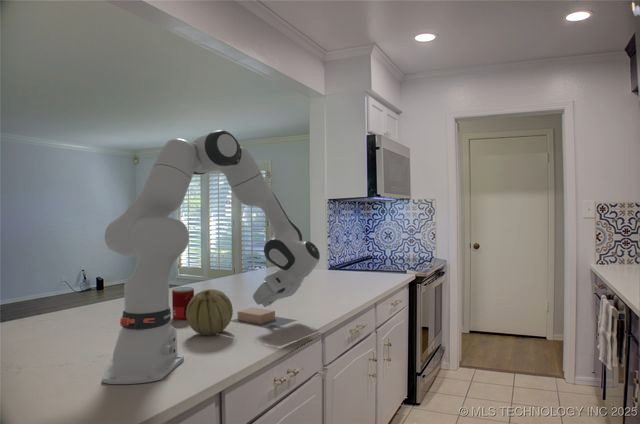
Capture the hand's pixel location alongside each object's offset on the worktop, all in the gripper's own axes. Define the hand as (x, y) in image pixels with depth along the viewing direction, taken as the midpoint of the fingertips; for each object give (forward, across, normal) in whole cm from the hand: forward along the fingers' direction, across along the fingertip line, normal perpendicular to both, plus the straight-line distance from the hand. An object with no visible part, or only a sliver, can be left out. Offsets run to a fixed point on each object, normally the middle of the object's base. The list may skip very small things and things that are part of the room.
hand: (265, 304), depth 160 cm
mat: (+6, 0, +4) cm, 7 cm away
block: (+2, 0, +4) cm, 4 cm away
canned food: (+27, +11, -17) cm, 34 cm away
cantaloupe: (+9, +21, +1) cm, 23 cm away
